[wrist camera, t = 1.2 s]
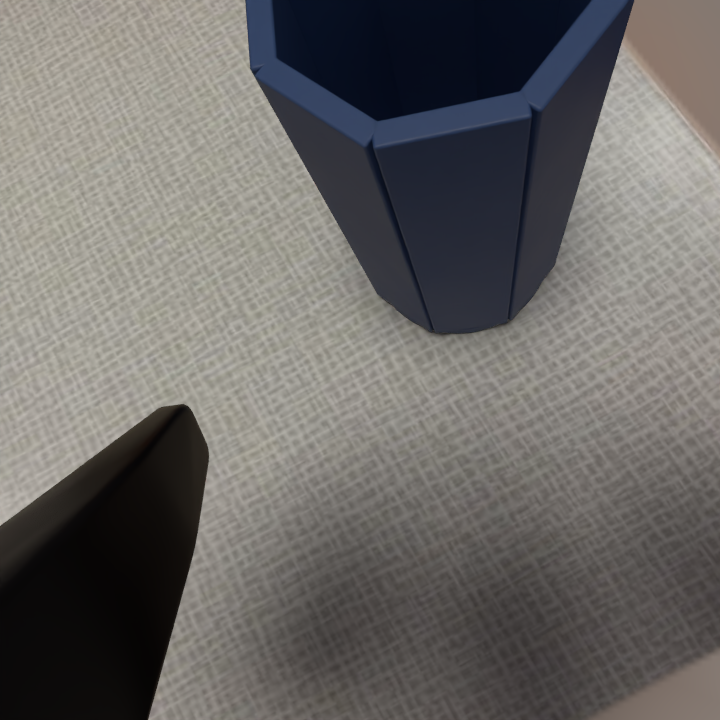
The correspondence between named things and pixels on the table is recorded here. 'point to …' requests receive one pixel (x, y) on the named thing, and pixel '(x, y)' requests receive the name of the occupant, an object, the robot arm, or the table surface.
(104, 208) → the table surface
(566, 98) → the measuring cup
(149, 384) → the table surface
